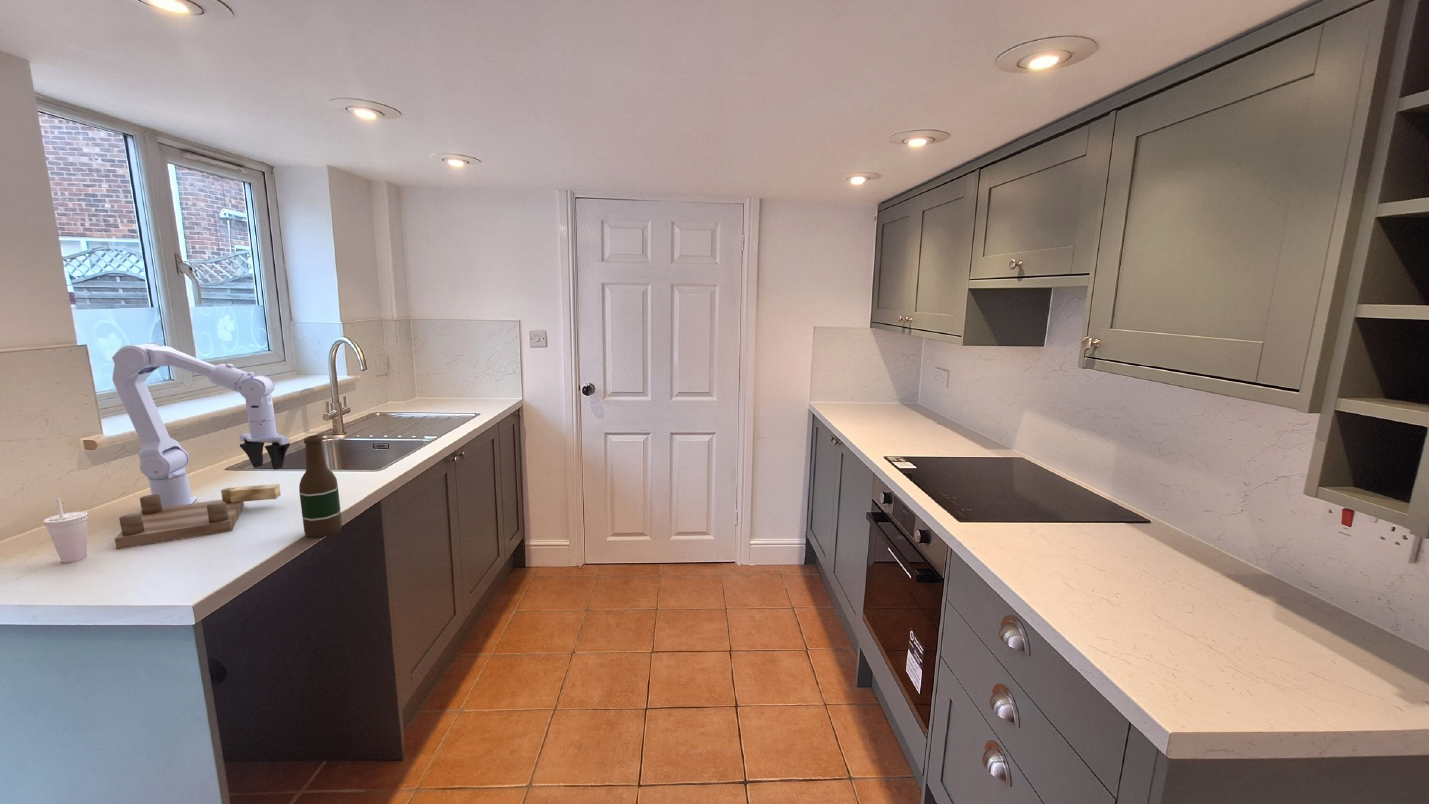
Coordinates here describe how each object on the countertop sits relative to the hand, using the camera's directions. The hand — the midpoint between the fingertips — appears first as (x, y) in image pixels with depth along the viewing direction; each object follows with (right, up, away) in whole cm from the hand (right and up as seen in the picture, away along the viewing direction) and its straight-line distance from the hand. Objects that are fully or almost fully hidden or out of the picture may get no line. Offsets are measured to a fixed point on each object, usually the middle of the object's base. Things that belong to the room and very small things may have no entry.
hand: (268, 467), depth 157 cm
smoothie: (-14, -16, -35) cm, 41 cm away
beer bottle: (+29, -14, -19) cm, 38 cm away
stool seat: (-7, -13, -17) cm, 22 cm away
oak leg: (0, -8, -5) cm, 10 cm away
